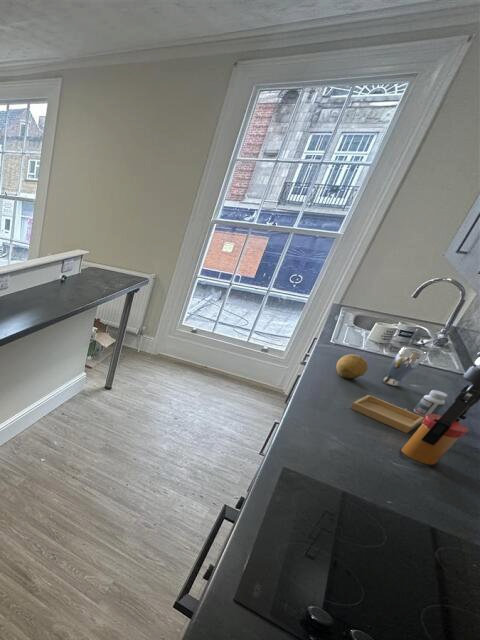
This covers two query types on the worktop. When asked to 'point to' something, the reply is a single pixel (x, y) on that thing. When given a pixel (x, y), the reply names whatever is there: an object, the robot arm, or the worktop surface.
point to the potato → (351, 366)
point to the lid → (453, 431)
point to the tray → (387, 413)
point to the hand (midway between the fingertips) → (432, 438)
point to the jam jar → (427, 447)
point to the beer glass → (403, 365)
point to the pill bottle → (431, 403)
